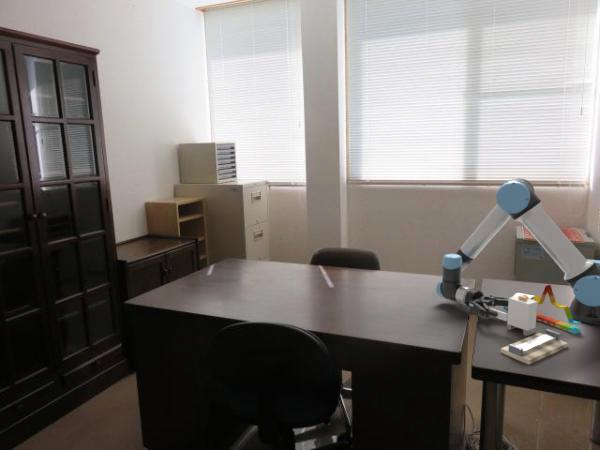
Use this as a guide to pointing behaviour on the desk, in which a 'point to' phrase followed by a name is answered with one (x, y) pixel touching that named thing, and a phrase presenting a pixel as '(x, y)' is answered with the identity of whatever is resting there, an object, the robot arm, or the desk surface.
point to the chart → (552, 321)
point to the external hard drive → (523, 294)
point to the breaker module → (522, 314)
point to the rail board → (536, 350)
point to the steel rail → (534, 343)
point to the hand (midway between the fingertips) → (518, 313)
